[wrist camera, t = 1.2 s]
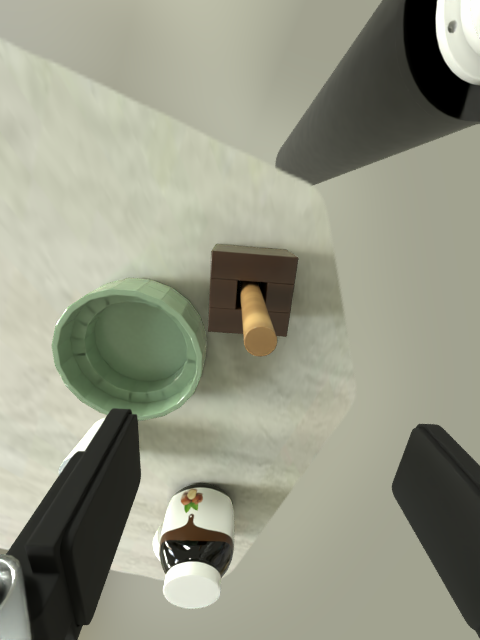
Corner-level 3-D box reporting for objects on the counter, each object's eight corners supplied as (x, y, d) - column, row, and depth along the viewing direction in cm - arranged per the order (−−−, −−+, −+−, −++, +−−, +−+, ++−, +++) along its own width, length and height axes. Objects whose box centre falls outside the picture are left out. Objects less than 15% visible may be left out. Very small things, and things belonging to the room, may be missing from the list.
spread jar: (235, 481, 43) (236, 573, 32) (231, 531, 47) (230, 627, 36) (156, 479, 42) (129, 571, 31) (159, 529, 46) (136, 626, 35)
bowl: (72, 272, 31) (40, 283, 26) (209, 282, 32) (204, 295, 26) (88, 387, 36) (63, 416, 31) (204, 394, 37) (199, 423, 32)
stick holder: (215, 243, 30) (211, 250, 24) (286, 249, 30) (298, 257, 25) (212, 311, 33) (207, 331, 27) (277, 316, 33) (286, 336, 28)
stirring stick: (240, 272, 31) (245, 325, 16) (258, 273, 31) (279, 327, 16) (238, 289, 32) (242, 355, 17) (256, 291, 32) (275, 357, 17)
